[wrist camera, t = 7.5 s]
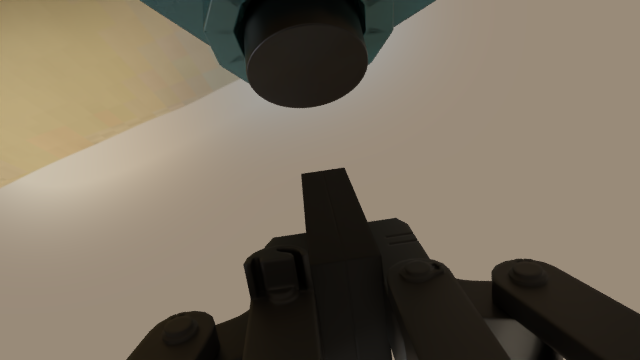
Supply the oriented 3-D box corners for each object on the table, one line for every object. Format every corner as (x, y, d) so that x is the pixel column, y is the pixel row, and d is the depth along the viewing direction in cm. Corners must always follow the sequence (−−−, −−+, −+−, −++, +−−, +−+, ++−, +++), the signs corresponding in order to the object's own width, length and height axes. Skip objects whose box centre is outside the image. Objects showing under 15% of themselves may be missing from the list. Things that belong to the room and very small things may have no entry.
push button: (217, 24, 18) (219, 73, 17) (308, -51, 16) (318, 0, 15) (294, 78, 22) (300, 121, 21) (378, 24, 19) (390, 69, 18)
